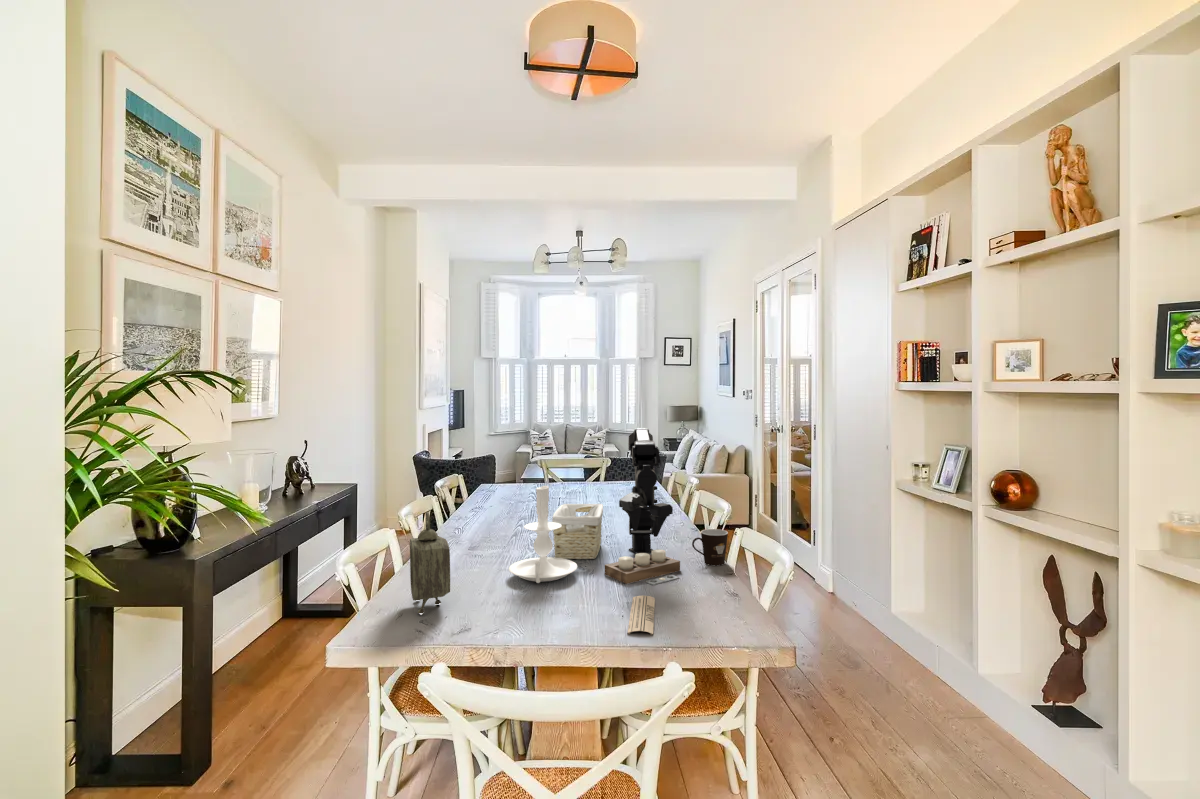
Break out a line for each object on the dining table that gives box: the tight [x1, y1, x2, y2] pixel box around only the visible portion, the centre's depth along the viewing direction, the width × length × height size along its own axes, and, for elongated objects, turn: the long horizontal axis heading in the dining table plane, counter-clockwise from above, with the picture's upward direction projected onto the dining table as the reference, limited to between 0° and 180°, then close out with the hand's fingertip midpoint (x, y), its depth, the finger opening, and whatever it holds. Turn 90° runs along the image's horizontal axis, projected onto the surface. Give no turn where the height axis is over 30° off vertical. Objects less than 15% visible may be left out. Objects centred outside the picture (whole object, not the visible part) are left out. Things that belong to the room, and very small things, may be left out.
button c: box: [651, 549, 667, 563], centre depth 190 cm, size 4×4×3 cm
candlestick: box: [508, 485, 578, 584], centre depth 180 cm, size 21×25×28 cm
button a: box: [618, 556, 633, 571], centre depth 182 cm, size 4×4×3 cm
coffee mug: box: [691, 528, 729, 567], centre depth 196 cm, size 12×9×10 cm
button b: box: [634, 553, 651, 567], centre depth 186 cm, size 4×4×3 cm
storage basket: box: [551, 503, 604, 560], centre depth 211 cm, size 24×16×15 cm
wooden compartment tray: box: [604, 553, 681, 585], centre depth 186 cm, size 11×21×3 cm, turn 125°
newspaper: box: [627, 594, 656, 636], centre depth 151 cm, size 24×7×2 cm, turn 174°
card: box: [644, 574, 680, 586], centre depth 179 cm, size 4×10×1 cm, turn 125°
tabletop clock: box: [409, 511, 451, 614], centre depth 158 cm, size 14×9×25 cm, turn 21°
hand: (645, 533), depth 186 cm, fingers open, 9 cm apart
